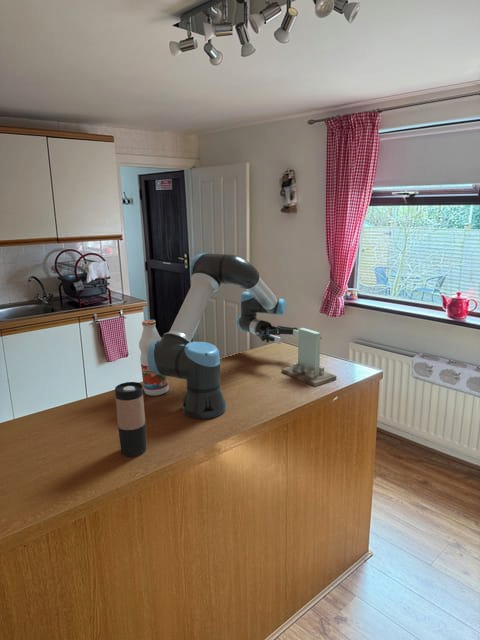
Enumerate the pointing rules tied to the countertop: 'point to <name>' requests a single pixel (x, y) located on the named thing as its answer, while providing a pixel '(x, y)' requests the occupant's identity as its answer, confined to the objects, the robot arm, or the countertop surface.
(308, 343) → the door
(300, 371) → the hinge base
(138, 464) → the countertop surface
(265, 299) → the robot arm
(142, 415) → the travel mug
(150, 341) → the fruit juice
